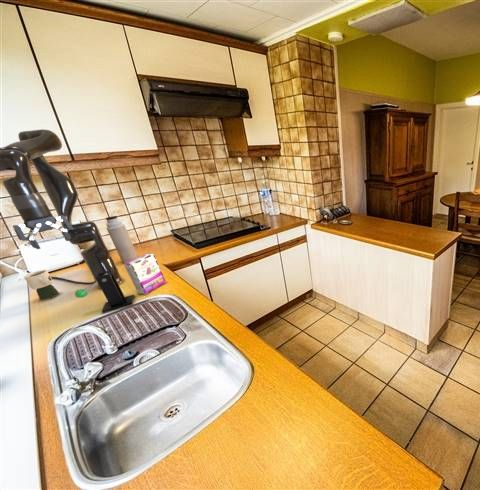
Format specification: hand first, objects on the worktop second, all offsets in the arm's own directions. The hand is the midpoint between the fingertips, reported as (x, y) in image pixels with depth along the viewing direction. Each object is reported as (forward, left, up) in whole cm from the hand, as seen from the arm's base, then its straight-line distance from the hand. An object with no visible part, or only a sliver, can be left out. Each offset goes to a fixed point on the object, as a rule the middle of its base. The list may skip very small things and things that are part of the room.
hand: (53, 244), depth 107 cm
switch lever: (+11, +3, -20) cm, 23 cm away
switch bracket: (+13, +6, -30) cm, 33 cm away
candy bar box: (+12, +20, -30) cm, 38 cm away
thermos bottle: (-39, +34, -30) cm, 60 cm away
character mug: (-29, -4, -30) cm, 42 cm away
